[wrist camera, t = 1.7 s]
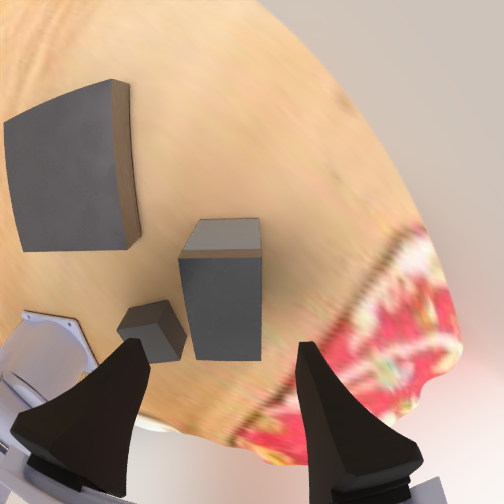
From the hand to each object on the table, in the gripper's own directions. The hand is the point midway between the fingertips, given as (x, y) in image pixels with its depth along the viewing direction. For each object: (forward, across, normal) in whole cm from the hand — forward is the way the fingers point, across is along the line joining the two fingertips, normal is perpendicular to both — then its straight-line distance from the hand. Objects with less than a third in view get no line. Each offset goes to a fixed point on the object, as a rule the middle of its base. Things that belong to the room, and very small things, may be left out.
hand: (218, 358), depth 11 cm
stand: (+9, +12, -8) cm, 17 cm away
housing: (+9, 0, 0) cm, 9 cm away
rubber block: (+9, +7, +6) cm, 13 cm away
